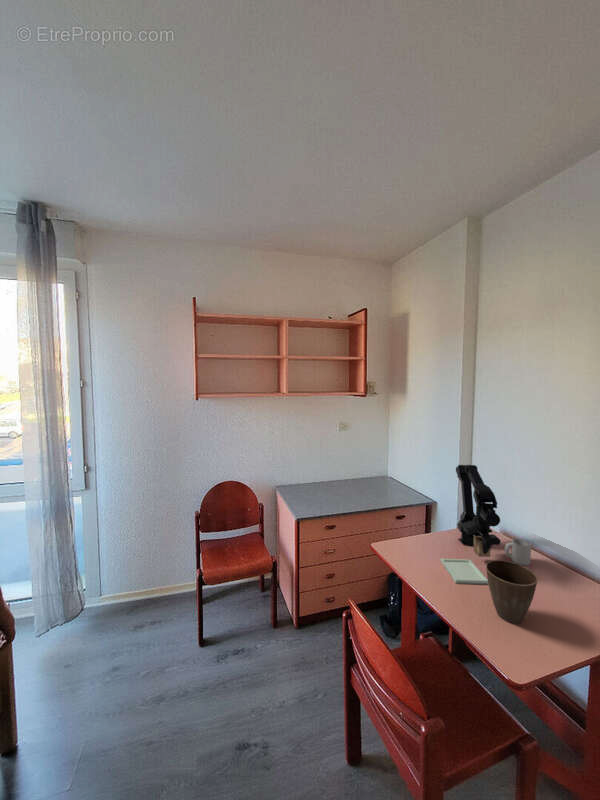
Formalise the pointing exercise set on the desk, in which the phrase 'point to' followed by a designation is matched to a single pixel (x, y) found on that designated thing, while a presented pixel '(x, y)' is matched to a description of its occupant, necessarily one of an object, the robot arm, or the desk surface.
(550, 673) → the desk surface
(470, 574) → the tray
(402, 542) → the desk surface
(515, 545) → the cup
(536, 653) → the desk surface
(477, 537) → the walnut block
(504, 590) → the plant pot
